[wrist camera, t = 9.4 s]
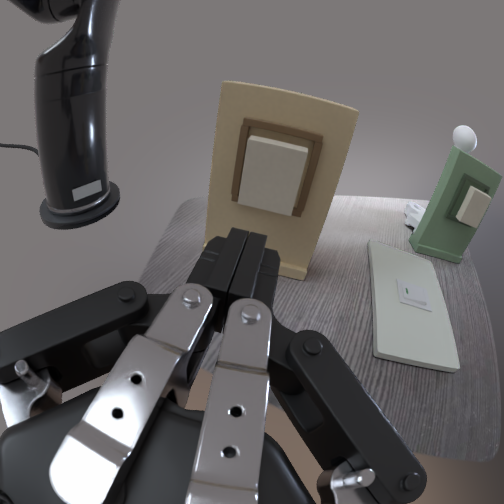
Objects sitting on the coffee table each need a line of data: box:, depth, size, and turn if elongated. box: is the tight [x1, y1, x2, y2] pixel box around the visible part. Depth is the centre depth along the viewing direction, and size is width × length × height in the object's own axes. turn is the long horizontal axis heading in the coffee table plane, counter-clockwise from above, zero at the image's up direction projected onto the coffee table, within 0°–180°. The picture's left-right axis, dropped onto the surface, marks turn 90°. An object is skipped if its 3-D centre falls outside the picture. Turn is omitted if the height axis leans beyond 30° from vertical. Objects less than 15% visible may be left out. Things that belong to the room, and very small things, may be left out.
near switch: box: [238, 135, 308, 216], centre depth 19 cm, size 1×4×5 cm, turn 79°
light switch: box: [367, 239, 460, 373], centre depth 25 cm, size 17×1×10 cm
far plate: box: [409, 146, 502, 264], centre depth 30 cm, size 3×10×16 cm, turn 84°
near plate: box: [203, 81, 359, 281], centre depth 22 cm, size 3×10×16 cm, turn 79°
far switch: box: [456, 186, 492, 228], centre depth 27 cm, size 1×4×5 cm, turn 84°
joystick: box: [404, 125, 477, 233], centre depth 36 cm, size 11×8×20 cm
